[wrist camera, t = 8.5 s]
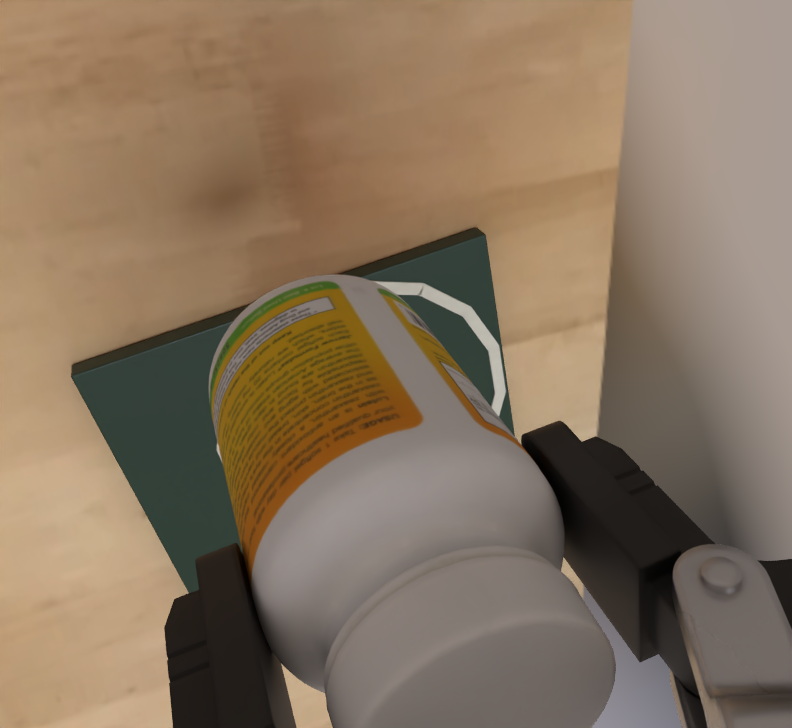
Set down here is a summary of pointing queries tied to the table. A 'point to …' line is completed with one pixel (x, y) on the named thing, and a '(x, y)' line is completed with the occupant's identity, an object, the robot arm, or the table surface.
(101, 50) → the table surface
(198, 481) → the chalkboard
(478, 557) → the supplement bottle
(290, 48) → the table surface
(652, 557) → the robot arm
